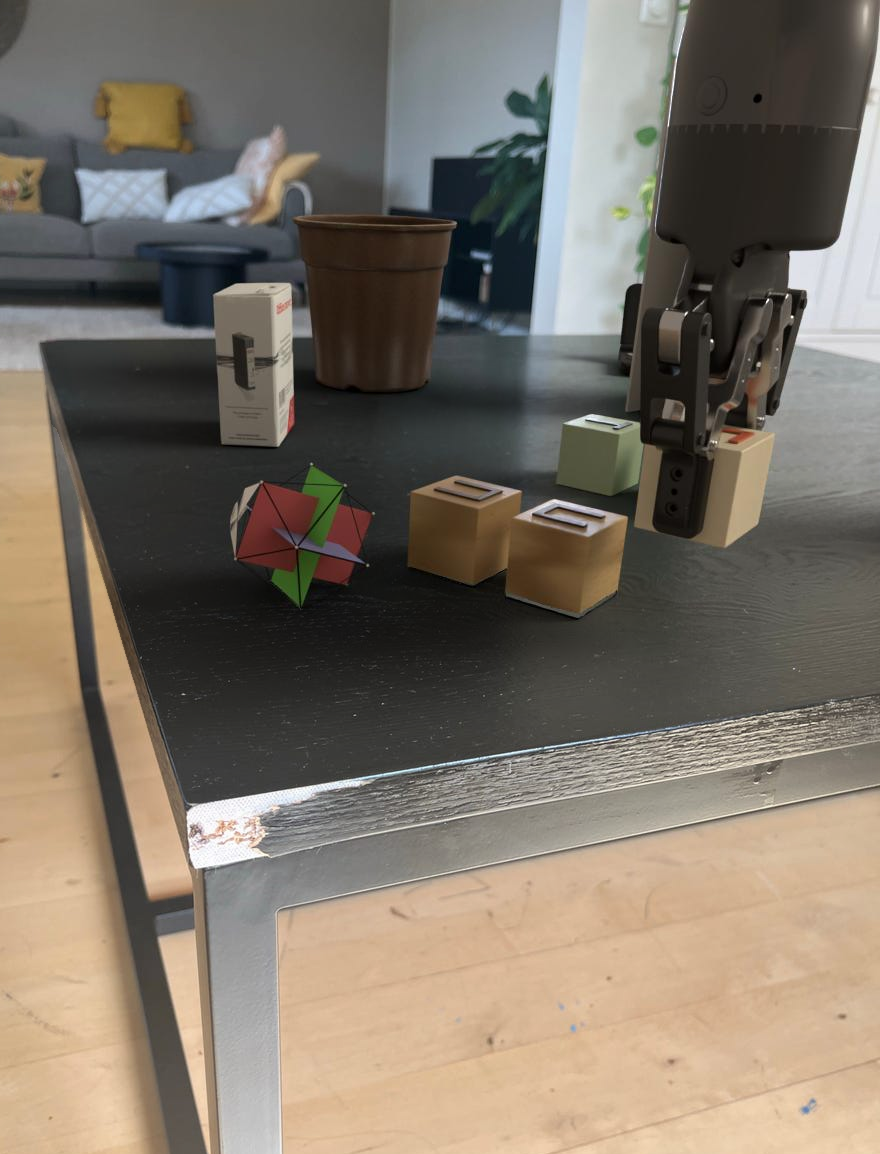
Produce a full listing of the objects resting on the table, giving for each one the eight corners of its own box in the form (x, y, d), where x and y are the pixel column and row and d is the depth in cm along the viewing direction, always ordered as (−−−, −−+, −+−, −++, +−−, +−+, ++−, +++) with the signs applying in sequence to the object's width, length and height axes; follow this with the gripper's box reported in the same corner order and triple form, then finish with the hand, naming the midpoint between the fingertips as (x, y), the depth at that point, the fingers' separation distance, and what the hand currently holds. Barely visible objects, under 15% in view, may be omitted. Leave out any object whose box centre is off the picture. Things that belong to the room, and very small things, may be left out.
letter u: (503, 597, 53) (511, 515, 51) (545, 574, 56) (553, 496, 54) (578, 620, 50) (589, 534, 49) (617, 595, 54) (629, 514, 52)
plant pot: (349, 404, 95) (352, 222, 88) (266, 375, 106) (263, 212, 99) (478, 389, 104) (490, 223, 97) (389, 364, 115) (394, 214, 108)
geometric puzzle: (367, 522, 57) (287, 417, 52) (426, 561, 51) (343, 448, 46) (275, 607, 56) (185, 509, 51) (325, 656, 50) (230, 552, 46)
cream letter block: (633, 527, 47) (646, 431, 45) (671, 505, 50) (684, 415, 48) (724, 549, 45) (742, 449, 43) (758, 524, 48) (776, 430, 46)
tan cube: (406, 567, 56) (410, 489, 54) (451, 547, 60) (456, 472, 58) (472, 587, 54) (478, 506, 52) (515, 565, 57) (522, 488, 55)
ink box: (239, 421, 87) (235, 279, 82) (295, 424, 87) (294, 282, 82) (217, 445, 79) (211, 290, 74) (279, 448, 79) (276, 293, 74)
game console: (618, 375, 114) (629, 293, 110) (616, 357, 126) (626, 282, 122) (757, 385, 112) (773, 301, 108) (741, 365, 124) (755, 289, 120)
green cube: (555, 484, 73) (562, 421, 71) (584, 471, 76) (591, 412, 74) (611, 496, 70) (619, 432, 68) (638, 483, 74) (647, 422, 72)
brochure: (709, 396, 105) (764, 73, 92) (755, 406, 101) (819, 70, 88) (625, 411, 97) (672, 58, 84) (671, 422, 93) (728, 54, 80)
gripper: (802, 109, 33) (717, 583, 40) (903, 127, 43) (820, 502, 51) (599, 110, 37) (556, 541, 44) (735, 127, 47) (682, 474, 55)
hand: (697, 518), depth 47 cm, fingers closed on cream letter block, 4 cm apart
